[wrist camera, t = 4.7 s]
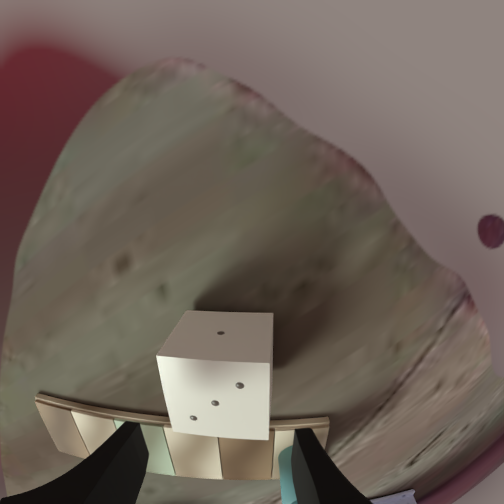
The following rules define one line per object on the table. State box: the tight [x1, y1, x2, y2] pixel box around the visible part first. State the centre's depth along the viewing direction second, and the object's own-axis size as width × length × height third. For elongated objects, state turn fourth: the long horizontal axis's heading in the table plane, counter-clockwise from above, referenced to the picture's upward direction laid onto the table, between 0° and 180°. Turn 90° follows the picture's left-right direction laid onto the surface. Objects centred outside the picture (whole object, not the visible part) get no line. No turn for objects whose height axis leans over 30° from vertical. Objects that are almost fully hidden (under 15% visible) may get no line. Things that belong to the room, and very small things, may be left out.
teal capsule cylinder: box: [278, 445, 298, 504], centre depth 17 cm, size 3×3×7 cm
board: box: [35, 393, 330, 480], centre depth 21 cm, size 24×7×1 cm, turn 90°
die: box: [156, 310, 273, 440], centre depth 16 cm, size 5×5×5 cm
